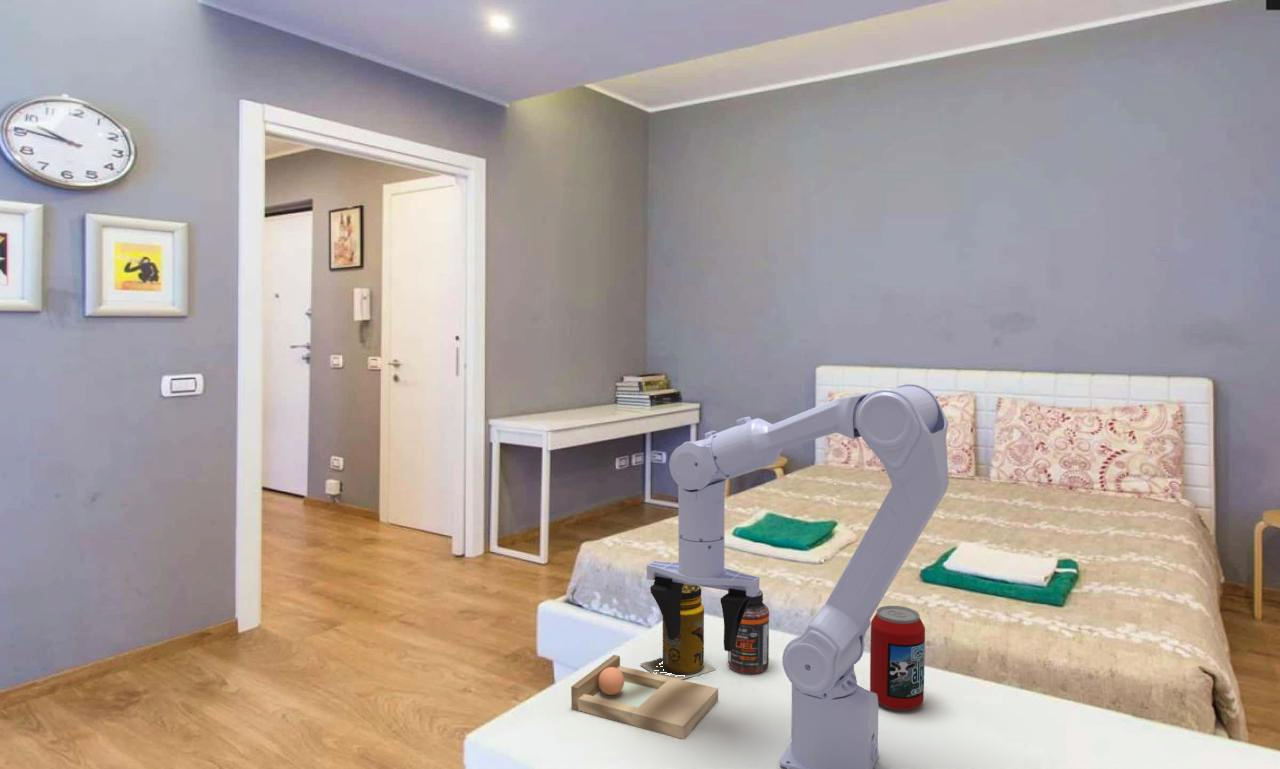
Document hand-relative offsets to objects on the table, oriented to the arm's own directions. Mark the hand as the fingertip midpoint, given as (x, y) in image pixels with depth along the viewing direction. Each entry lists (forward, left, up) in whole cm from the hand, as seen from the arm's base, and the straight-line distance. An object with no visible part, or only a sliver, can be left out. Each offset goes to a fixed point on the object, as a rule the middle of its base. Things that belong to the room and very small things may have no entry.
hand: (701, 642), depth 96 cm
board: (+8, 0, -10) cm, 13 cm away
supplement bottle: (0, -17, -10) cm, 20 cm away
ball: (+13, 0, -8) cm, 15 cm away
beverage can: (-21, -16, -10) cm, 28 cm away
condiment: (+9, -12, -10) cm, 18 cm away
